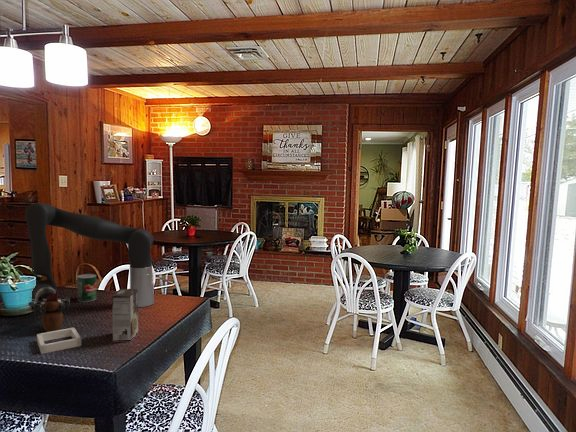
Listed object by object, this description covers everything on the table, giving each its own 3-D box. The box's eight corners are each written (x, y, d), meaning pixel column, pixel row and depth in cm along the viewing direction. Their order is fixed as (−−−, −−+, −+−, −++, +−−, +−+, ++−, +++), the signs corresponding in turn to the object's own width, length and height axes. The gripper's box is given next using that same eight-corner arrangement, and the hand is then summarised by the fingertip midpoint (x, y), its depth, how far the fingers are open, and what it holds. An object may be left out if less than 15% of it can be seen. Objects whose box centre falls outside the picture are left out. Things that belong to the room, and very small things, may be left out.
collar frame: (74, 334, 144) (74, 327, 144) (81, 345, 134) (81, 338, 134) (37, 341, 137) (36, 334, 137) (41, 354, 128) (41, 346, 127)
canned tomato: (90, 302, 182) (90, 278, 181) (73, 301, 182) (73, 277, 181) (100, 297, 189) (99, 274, 188) (83, 296, 190) (83, 273, 189)
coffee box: (120, 331, 148) (120, 288, 146) (138, 331, 148) (138, 288, 147) (111, 341, 138) (111, 295, 137) (131, 341, 139) (130, 295, 138)
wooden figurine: (66, 329, 149) (65, 289, 147) (53, 334, 143) (51, 293, 142) (52, 326, 151) (51, 287, 150) (38, 332, 146) (37, 291, 144)
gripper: (25, 291, 153) (29, 303, 139) (67, 286, 162) (75, 296, 148) (25, 310, 154) (30, 324, 140) (68, 304, 162) (76, 316, 149)
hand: (53, 309), depth 144 cm, fingers closed on wooden figurine, 4 cm apart
